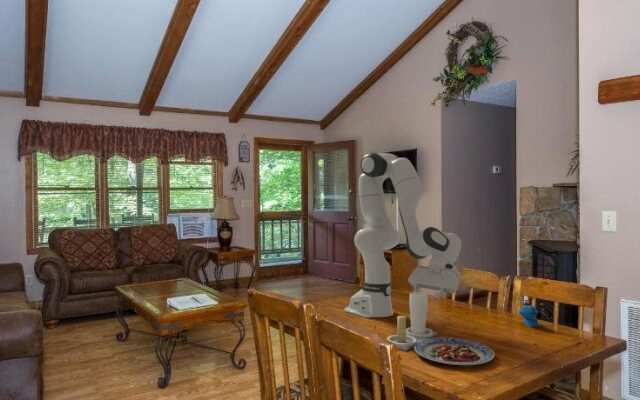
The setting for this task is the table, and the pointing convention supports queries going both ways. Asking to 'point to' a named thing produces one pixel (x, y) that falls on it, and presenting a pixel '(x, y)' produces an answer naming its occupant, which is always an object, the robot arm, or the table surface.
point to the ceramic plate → (454, 351)
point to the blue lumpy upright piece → (529, 315)
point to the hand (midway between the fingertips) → (425, 297)
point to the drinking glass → (418, 312)
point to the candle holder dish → (408, 335)
